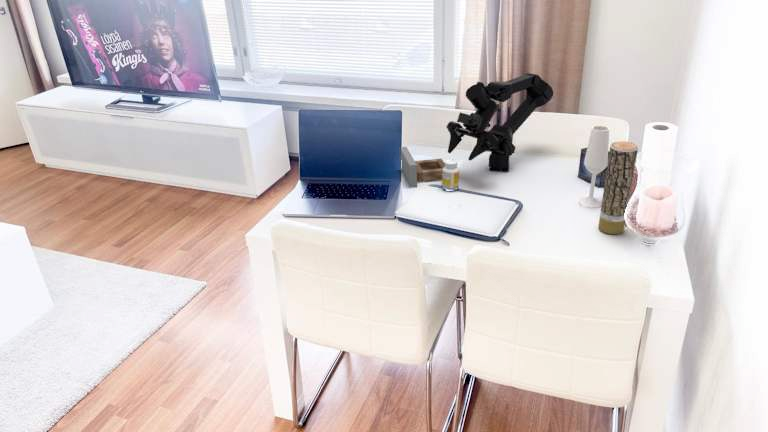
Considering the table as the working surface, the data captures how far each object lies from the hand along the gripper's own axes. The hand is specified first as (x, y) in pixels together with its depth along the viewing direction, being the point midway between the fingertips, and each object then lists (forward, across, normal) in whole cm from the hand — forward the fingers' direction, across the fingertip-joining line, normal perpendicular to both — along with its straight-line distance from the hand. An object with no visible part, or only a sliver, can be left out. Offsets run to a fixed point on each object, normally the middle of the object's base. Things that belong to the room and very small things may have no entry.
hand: (458, 156), depth 190 cm
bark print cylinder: (+2, +51, +13) cm, 53 cm away
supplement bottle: (+10, 0, +5) cm, 11 cm away
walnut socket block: (+8, -13, +7) cm, 17 cm away
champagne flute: (-6, +38, +21) cm, 44 cm away
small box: (-18, +29, +32) cm, 47 cm away
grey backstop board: (+12, -17, +2) cm, 21 cm away
